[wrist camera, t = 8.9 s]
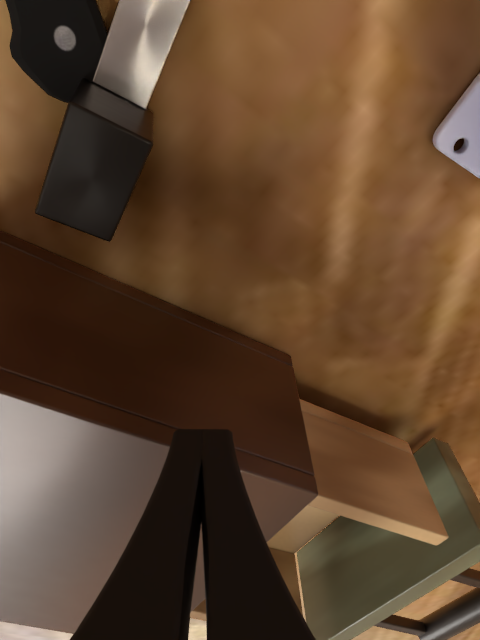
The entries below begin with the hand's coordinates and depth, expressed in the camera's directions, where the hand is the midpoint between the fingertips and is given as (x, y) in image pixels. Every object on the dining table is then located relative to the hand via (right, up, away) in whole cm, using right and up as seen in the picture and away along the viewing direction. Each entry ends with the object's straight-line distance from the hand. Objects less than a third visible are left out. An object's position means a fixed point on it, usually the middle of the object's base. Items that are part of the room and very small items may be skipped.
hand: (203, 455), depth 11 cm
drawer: (+6, -7, +15) cm, 18 cm away
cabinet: (-7, -1, +12) cm, 13 cm away
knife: (-3, +11, +3) cm, 12 cm away
